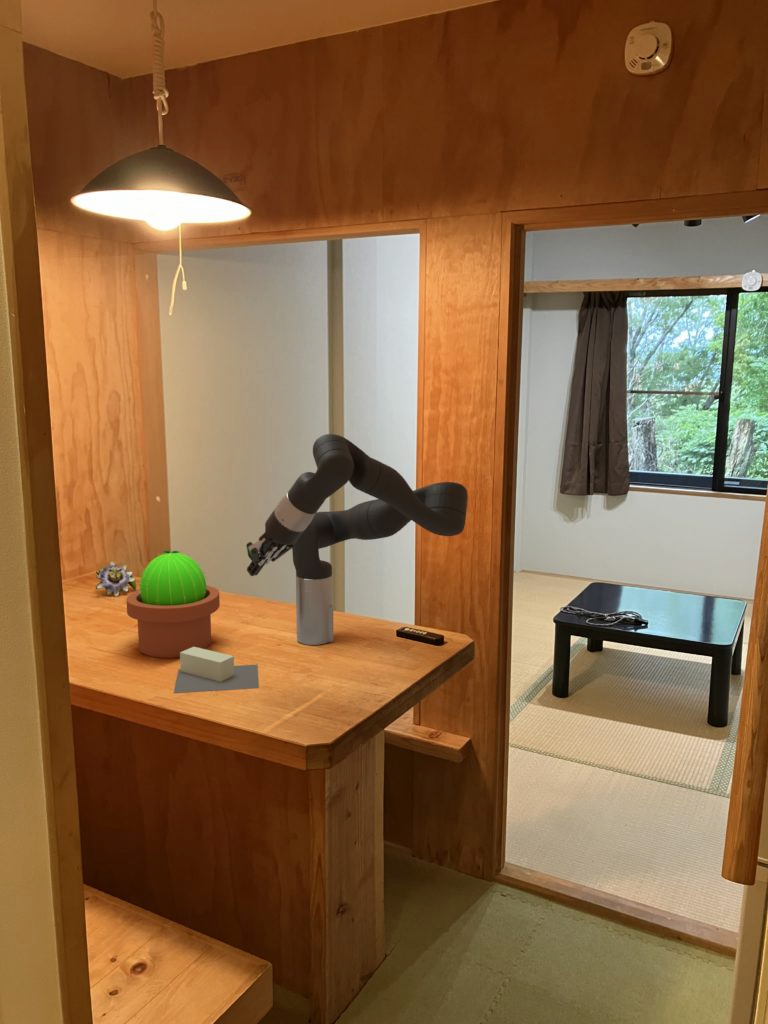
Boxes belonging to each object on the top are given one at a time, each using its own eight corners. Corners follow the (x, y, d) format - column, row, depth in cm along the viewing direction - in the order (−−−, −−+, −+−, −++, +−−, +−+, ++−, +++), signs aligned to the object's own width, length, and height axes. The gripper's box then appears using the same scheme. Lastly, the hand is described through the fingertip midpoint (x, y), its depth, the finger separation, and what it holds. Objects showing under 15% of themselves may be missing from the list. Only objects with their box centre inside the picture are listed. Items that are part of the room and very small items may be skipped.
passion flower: (117, 613, 244) (94, 587, 237) (105, 598, 252) (83, 573, 245) (147, 589, 248) (125, 563, 241) (135, 575, 256) (113, 550, 249)
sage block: (233, 656, 179) (193, 646, 185) (220, 662, 175) (179, 652, 181) (234, 675, 180) (194, 665, 186) (220, 681, 176) (180, 671, 182)
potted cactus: (197, 666, 188) (194, 563, 183) (112, 658, 192) (107, 557, 188) (233, 635, 209) (230, 542, 204) (156, 629, 213) (152, 538, 209)
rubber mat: (257, 668, 187) (257, 664, 186) (259, 692, 173) (258, 687, 173) (178, 673, 183) (178, 668, 183) (173, 697, 170) (173, 693, 170)
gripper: (278, 533, 156) (237, 590, 164) (322, 527, 167) (282, 581, 175) (258, 506, 159) (219, 563, 167) (302, 501, 169) (263, 556, 177)
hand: (251, 572), depth 171 cm, fingers closed
